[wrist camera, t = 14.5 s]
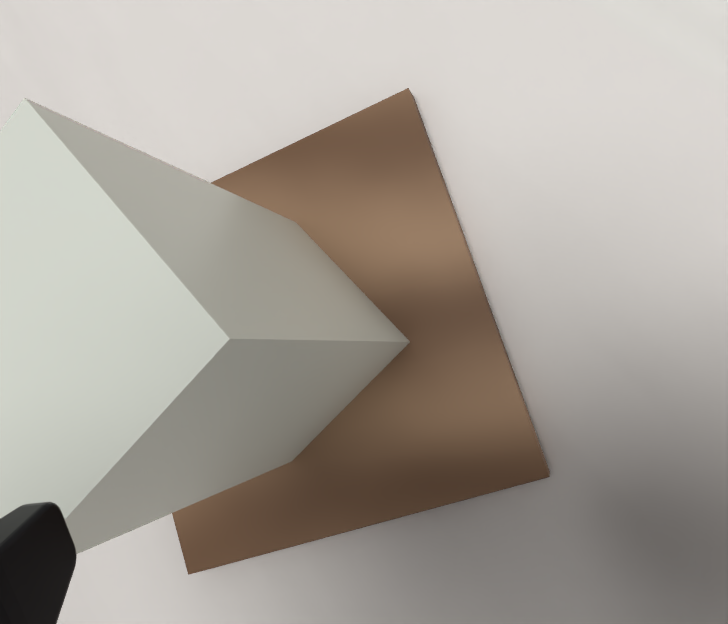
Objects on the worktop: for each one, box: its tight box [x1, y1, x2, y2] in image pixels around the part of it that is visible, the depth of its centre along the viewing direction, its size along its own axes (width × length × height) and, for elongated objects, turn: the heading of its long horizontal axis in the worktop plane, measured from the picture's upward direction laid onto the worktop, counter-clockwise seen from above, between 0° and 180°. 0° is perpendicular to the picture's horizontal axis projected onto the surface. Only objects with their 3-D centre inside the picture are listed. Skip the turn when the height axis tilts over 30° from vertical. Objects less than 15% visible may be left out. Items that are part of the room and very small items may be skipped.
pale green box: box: [0, 98, 410, 554], centre depth 17 cm, size 6×6×12 cm
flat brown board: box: [172, 88, 550, 575], centre depth 21 cm, size 14×14×5 cm
